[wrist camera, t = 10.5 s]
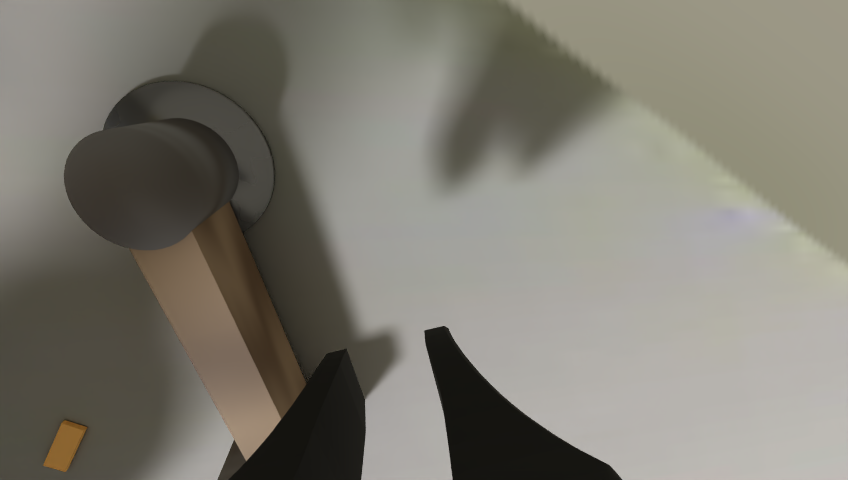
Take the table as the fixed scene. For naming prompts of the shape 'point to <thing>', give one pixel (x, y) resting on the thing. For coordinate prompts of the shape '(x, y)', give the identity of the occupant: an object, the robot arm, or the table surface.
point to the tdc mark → (65, 446)
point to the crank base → (221, 118)
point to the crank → (192, 263)
